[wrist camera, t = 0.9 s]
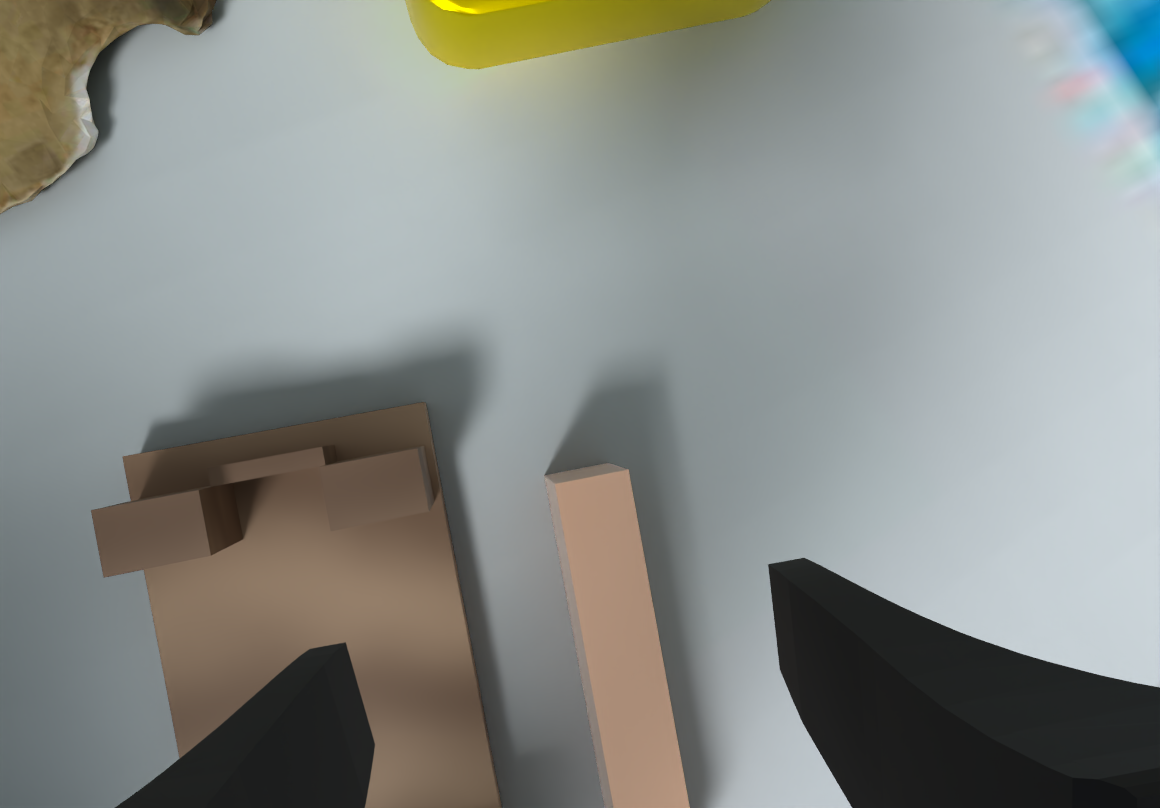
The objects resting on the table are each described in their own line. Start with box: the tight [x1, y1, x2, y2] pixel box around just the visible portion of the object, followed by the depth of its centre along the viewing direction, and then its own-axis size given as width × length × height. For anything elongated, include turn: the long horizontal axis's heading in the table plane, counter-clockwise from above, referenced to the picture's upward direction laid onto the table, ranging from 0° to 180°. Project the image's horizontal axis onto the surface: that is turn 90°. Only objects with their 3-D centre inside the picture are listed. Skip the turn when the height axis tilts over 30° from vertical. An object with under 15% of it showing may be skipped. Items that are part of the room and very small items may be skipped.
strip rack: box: [91, 402, 502, 808], centre depth 24 cm, size 20×10×4 cm, turn 11°
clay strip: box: [544, 463, 690, 808], centre depth 26 cm, size 16×2×4 cm, turn 10°
